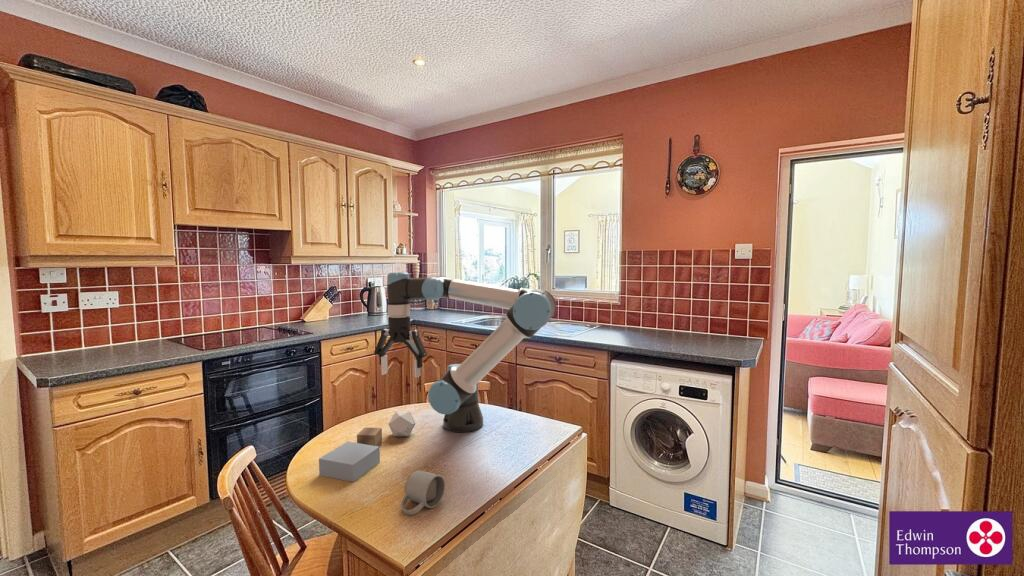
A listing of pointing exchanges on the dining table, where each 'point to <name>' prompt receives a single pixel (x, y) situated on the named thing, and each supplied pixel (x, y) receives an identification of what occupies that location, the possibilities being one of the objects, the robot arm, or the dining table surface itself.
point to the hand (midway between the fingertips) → (400, 375)
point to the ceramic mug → (423, 490)
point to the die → (402, 423)
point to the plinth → (349, 461)
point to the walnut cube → (370, 436)
